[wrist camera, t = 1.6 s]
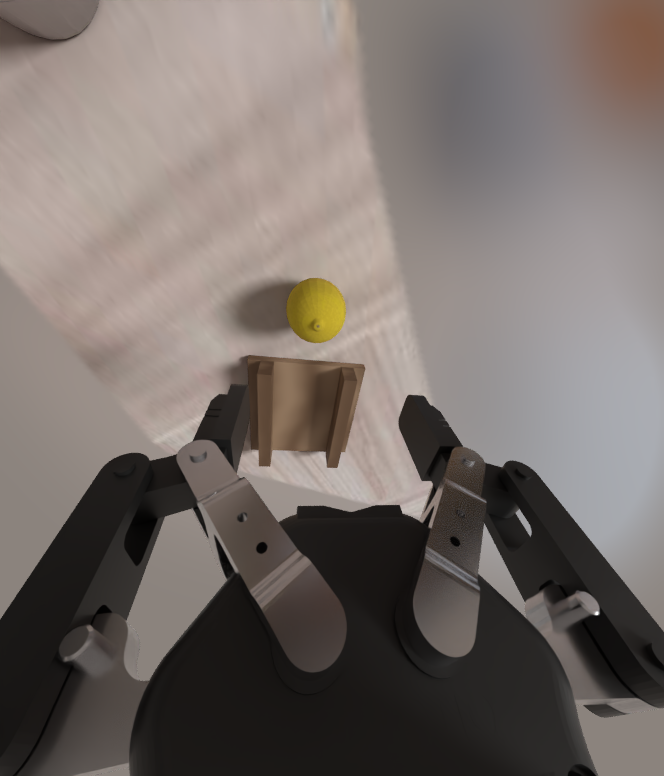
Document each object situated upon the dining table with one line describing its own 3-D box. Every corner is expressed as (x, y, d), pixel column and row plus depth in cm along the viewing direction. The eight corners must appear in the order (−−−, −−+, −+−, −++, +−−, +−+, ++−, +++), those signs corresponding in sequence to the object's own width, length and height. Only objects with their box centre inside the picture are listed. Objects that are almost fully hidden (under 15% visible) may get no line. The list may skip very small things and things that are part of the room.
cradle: (252, 444, 39) (247, 466, 36) (248, 355, 31) (242, 373, 28) (344, 447, 42) (347, 467, 38) (363, 364, 33) (370, 382, 30)
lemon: (350, 290, 28) (365, 317, 21) (321, 332, 30) (326, 367, 24) (306, 258, 26) (307, 276, 19) (278, 305, 28) (271, 336, 22)
